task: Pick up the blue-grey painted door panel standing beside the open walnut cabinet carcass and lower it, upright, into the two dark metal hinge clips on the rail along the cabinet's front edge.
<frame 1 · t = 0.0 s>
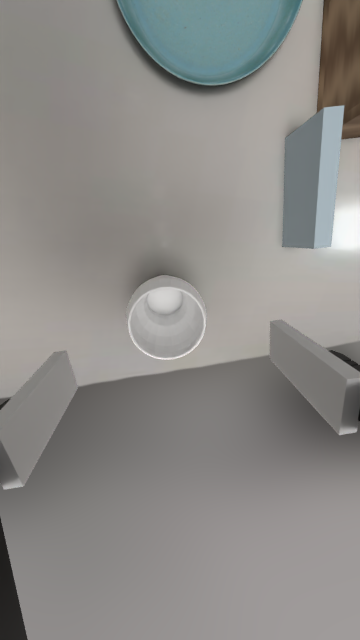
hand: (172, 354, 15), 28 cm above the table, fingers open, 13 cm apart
cup: (164, 296, 43), on the table
door: (290, 195, 39), on the table
cabinet: (359, 71, 34), on the table
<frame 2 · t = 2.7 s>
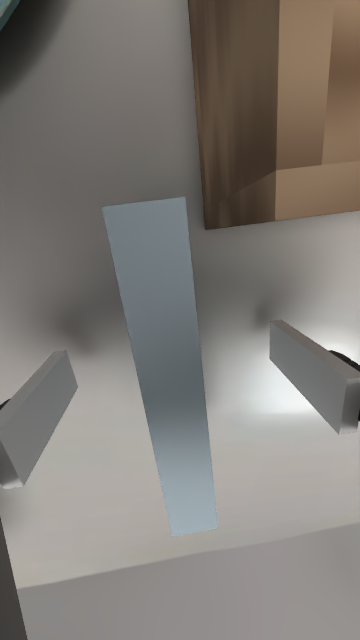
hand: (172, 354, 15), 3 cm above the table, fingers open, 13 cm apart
door: (167, 331, 18), on the table
cabinet: (298, 65, 13), on the table
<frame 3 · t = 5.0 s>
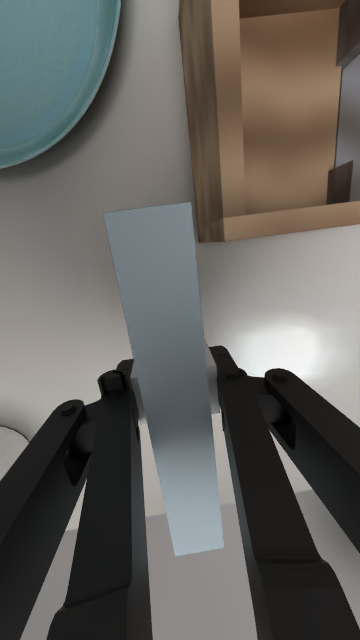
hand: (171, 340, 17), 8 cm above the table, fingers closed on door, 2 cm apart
cup: (1, 449, 29), on the table
door: (170, 338, 18), point 7 cm above the table, touching gripper
cabinet: (259, 136, 20), on the table
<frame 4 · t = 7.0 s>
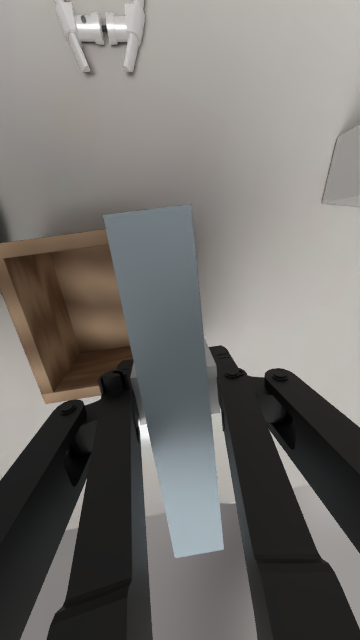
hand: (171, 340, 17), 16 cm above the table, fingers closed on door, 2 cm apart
milk carton: (353, 174, 29), on the table
door: (170, 339, 18), point 15 cm above the table, touching gripper
cabinet: (105, 299, 31), on the table
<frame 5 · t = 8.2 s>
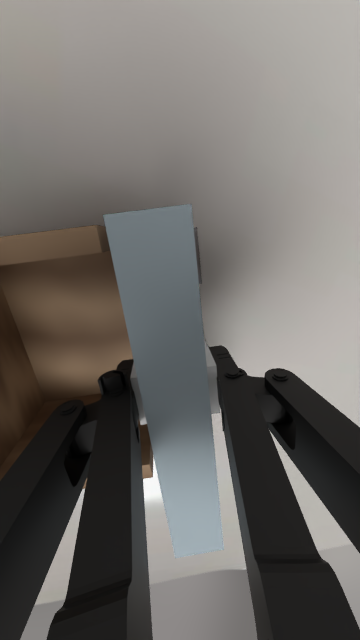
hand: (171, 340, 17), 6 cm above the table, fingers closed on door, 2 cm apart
door: (171, 339, 18), point 5 cm above the table, touching gripper
cabinet: (79, 327, 22), on the table
when the fingers open (2 cm above the table, at t = 9.2 s): door stays where it is, resting on cabinet.
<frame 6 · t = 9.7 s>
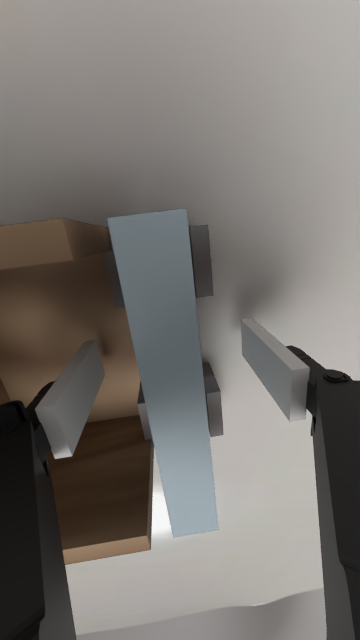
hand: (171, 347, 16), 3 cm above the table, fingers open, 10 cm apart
door: (169, 334, 18), point 1 cm above the table, touching cabinet
cabinet: (64, 345, 19), on the table
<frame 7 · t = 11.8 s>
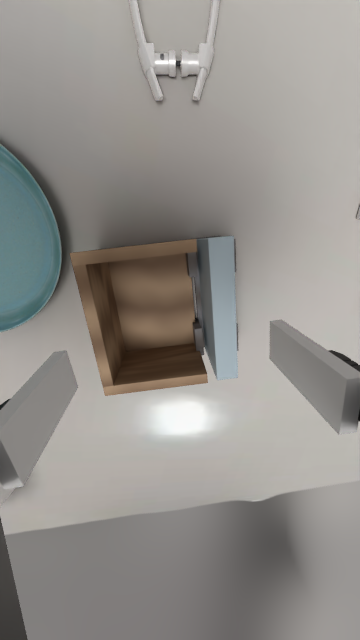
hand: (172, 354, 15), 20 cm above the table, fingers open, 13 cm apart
door: (209, 296, 34), point 1 cm above the table, touching cabinet
cabinet: (151, 301, 34), on the table
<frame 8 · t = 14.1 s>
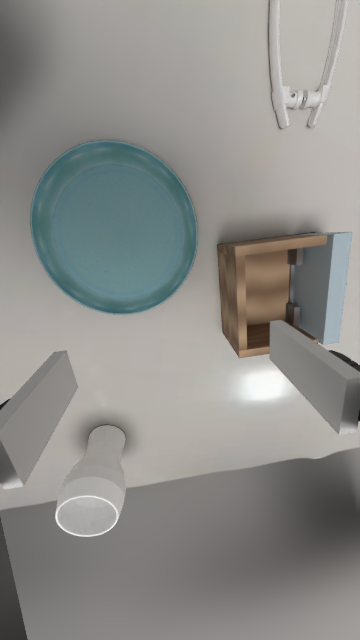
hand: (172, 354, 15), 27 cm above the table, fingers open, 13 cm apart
saucer: (120, 237, 38), on the table
door handle: (301, 19, 31), on the table
cup: (107, 438, 51), on the table
door: (300, 281, 42), point 1 cm above the table, touching cabinet
cabinet: (252, 287, 42), on the table
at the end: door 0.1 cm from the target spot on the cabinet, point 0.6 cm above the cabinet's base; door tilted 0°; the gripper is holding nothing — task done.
